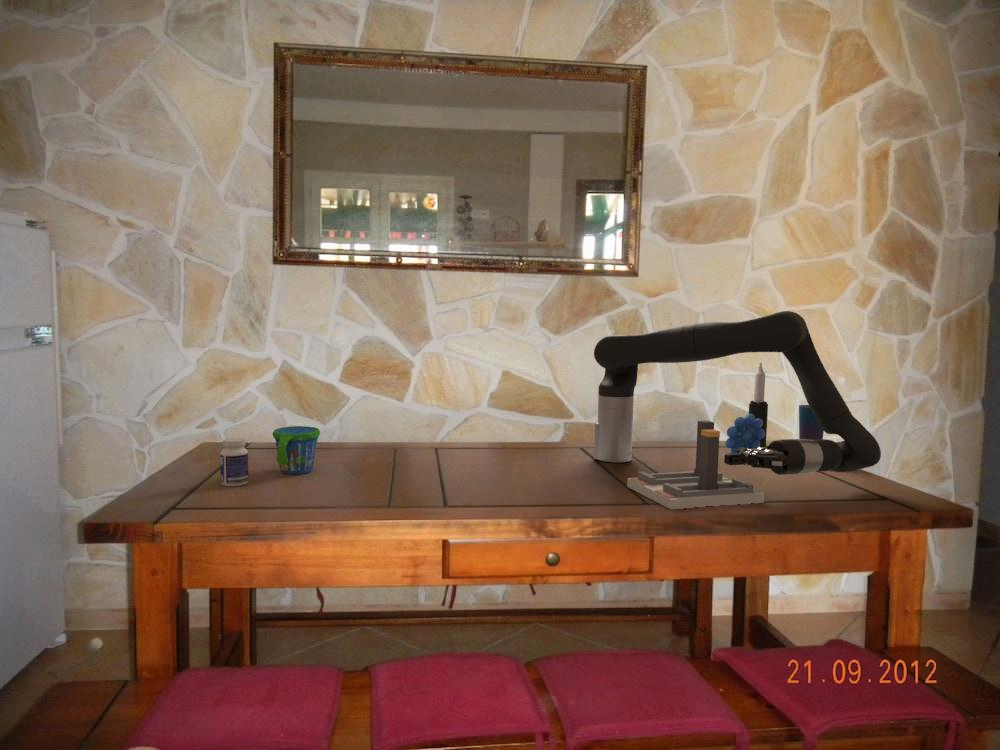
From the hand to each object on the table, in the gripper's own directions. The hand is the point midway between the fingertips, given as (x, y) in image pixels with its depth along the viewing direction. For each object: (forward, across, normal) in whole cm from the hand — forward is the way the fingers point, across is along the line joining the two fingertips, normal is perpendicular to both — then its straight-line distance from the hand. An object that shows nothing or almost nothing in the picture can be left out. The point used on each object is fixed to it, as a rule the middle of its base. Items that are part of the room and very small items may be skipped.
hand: (726, 459), depth 152 cm
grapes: (-34, +40, -9) cm, 53 cm away
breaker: (+4, +1, -7) cm, 8 cm away
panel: (+4, +6, -9) cm, 11 cm away
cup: (-47, +29, -8) cm, 56 cm away
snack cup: (+85, +48, -10) cm, 98 cm away
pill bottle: (+99, +39, -10) cm, 107 cm away
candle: (-47, +52, -8) cm, 70 cm away
